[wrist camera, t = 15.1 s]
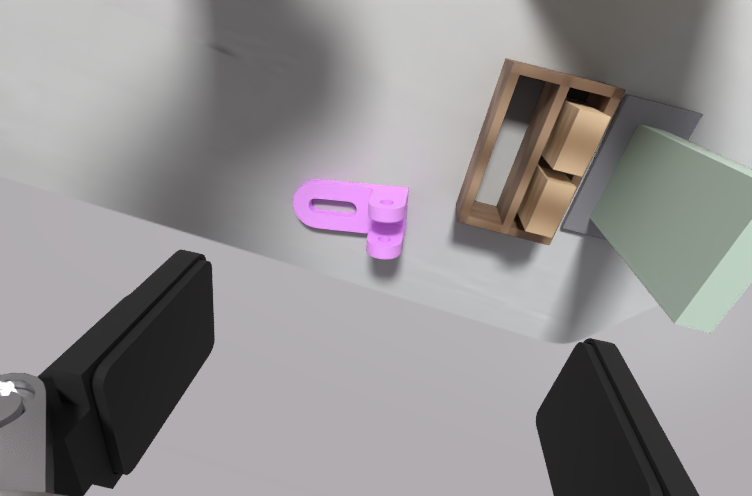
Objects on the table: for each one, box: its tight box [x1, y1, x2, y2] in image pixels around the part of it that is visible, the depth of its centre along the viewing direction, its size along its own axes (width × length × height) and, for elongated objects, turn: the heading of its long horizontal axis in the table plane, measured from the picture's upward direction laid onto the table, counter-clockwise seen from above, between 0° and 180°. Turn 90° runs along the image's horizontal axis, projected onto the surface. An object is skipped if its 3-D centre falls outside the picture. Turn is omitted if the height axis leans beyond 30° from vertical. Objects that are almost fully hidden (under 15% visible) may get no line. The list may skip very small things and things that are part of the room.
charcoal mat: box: [561, 95, 703, 240], centre depth 41 cm, size 14×7×1 cm, turn 168°
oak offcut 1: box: [541, 98, 611, 177], centre depth 37 cm, size 5×2×8 cm, turn 168°
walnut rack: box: [456, 59, 625, 245], centre depth 39 cm, size 15×9×5 cm, turn 168°
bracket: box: [293, 179, 409, 259], centre depth 44 cm, size 13×6×7 cm, turn 87°
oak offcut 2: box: [517, 158, 577, 238], centre depth 40 cm, size 5×2×8 cm, turn 168°
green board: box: [590, 124, 752, 333], centre depth 33 cm, size 10×2×18 cm, turn 168°
